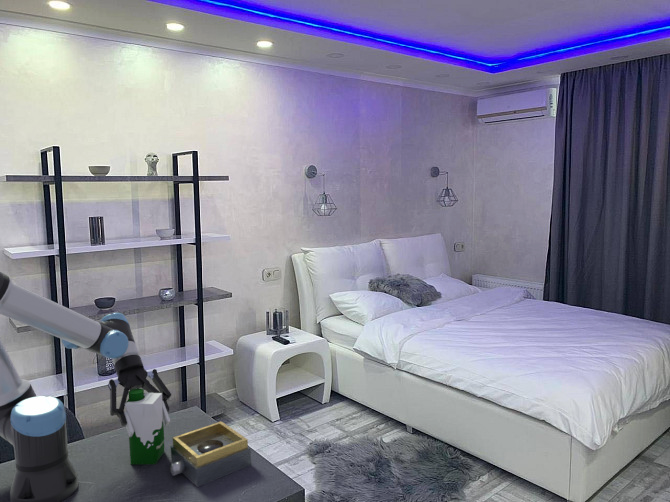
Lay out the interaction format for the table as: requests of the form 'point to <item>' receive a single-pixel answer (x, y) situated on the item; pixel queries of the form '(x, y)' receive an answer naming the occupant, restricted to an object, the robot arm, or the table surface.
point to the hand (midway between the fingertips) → (150, 428)
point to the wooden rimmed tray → (209, 453)
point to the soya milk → (145, 426)
